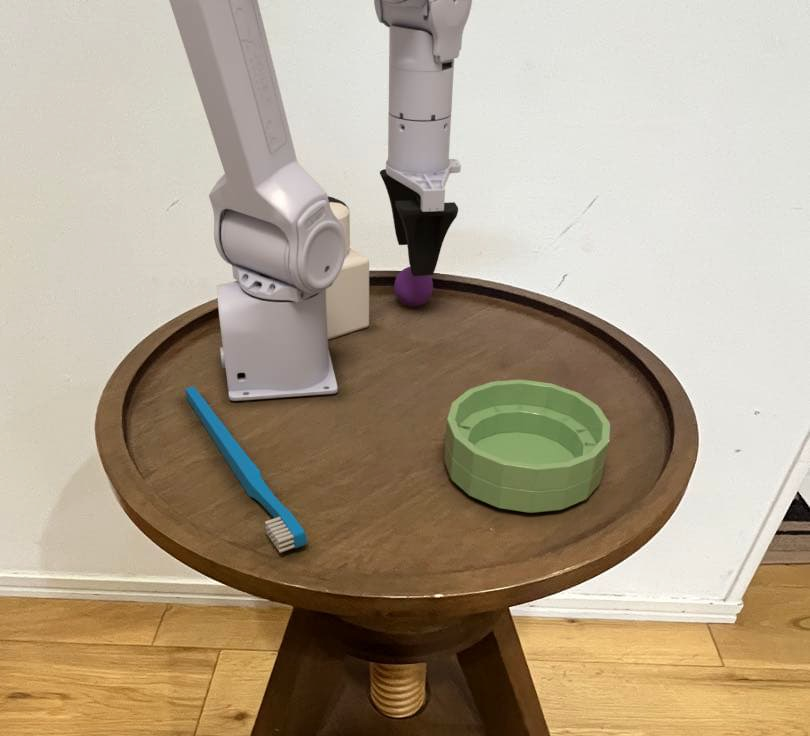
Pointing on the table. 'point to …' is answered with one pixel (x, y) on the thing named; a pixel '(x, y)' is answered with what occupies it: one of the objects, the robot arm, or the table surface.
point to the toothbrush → (250, 478)
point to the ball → (413, 288)
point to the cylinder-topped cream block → (348, 285)
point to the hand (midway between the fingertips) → (415, 258)
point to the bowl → (526, 445)
